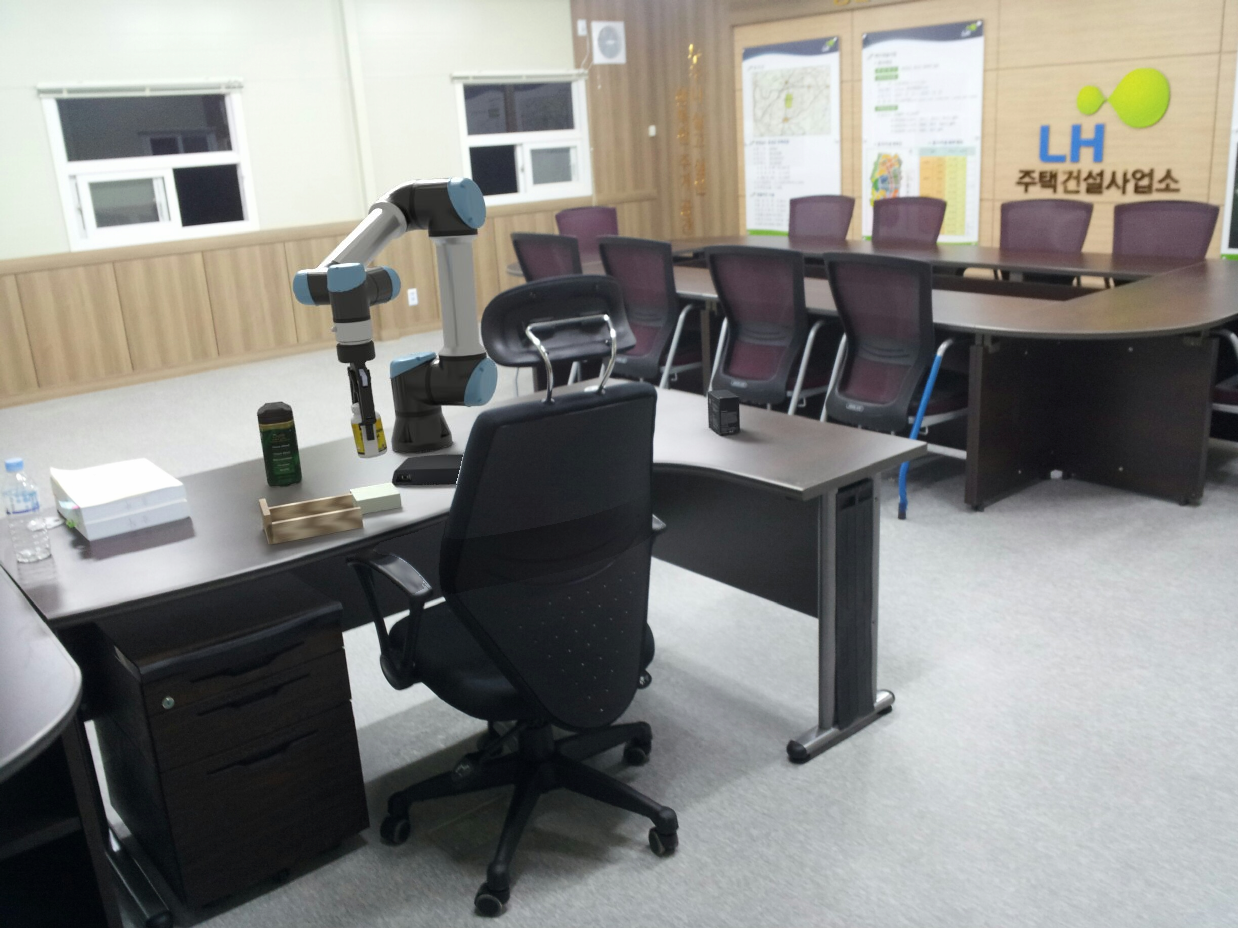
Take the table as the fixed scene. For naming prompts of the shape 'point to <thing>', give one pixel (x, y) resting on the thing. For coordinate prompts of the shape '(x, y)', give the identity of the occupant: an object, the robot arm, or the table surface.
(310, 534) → the tray
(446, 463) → the external hard drive
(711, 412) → the box
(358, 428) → the pill bottle
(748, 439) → the table surface
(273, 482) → the coffee jar
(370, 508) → the stand
